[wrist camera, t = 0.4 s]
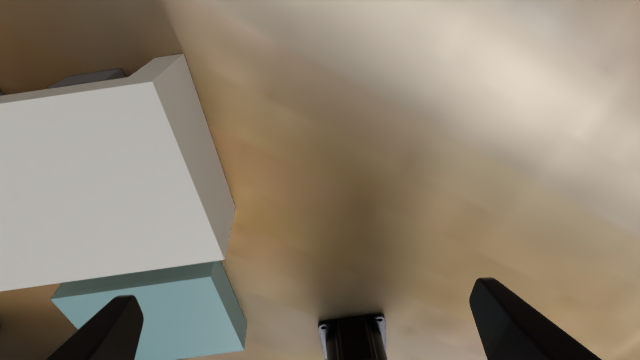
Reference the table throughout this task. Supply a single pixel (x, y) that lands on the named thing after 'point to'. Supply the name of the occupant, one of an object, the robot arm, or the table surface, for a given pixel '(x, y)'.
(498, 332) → the robot arm
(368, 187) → the table surface
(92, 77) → the white box
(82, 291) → the light blue slab
